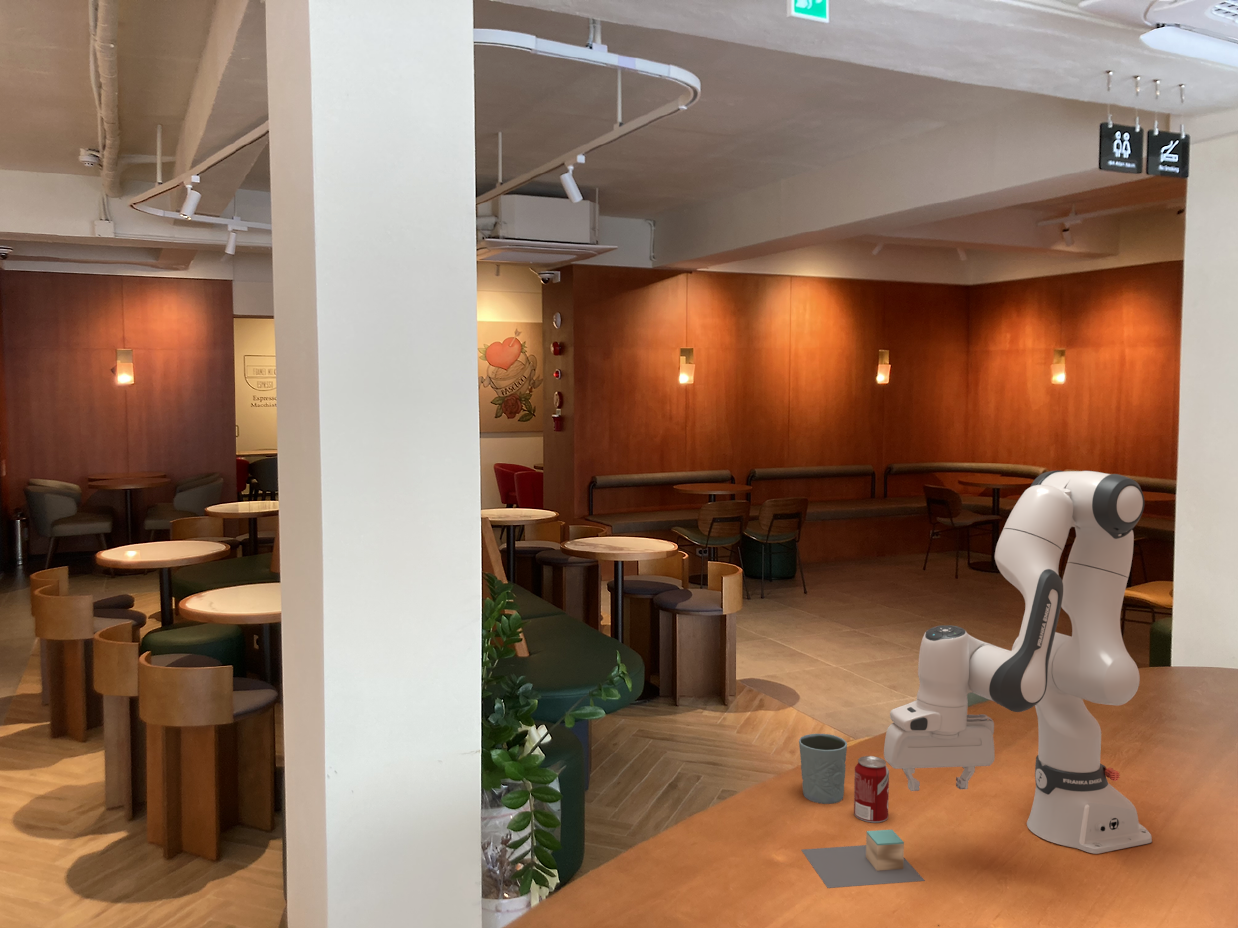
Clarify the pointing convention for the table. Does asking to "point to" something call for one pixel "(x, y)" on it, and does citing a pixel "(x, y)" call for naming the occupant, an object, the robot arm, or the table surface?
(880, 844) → the maple cube
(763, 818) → the table surface
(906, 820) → the table surface
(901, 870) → the rubber mat
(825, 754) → the grey blue cup
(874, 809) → the soda can
